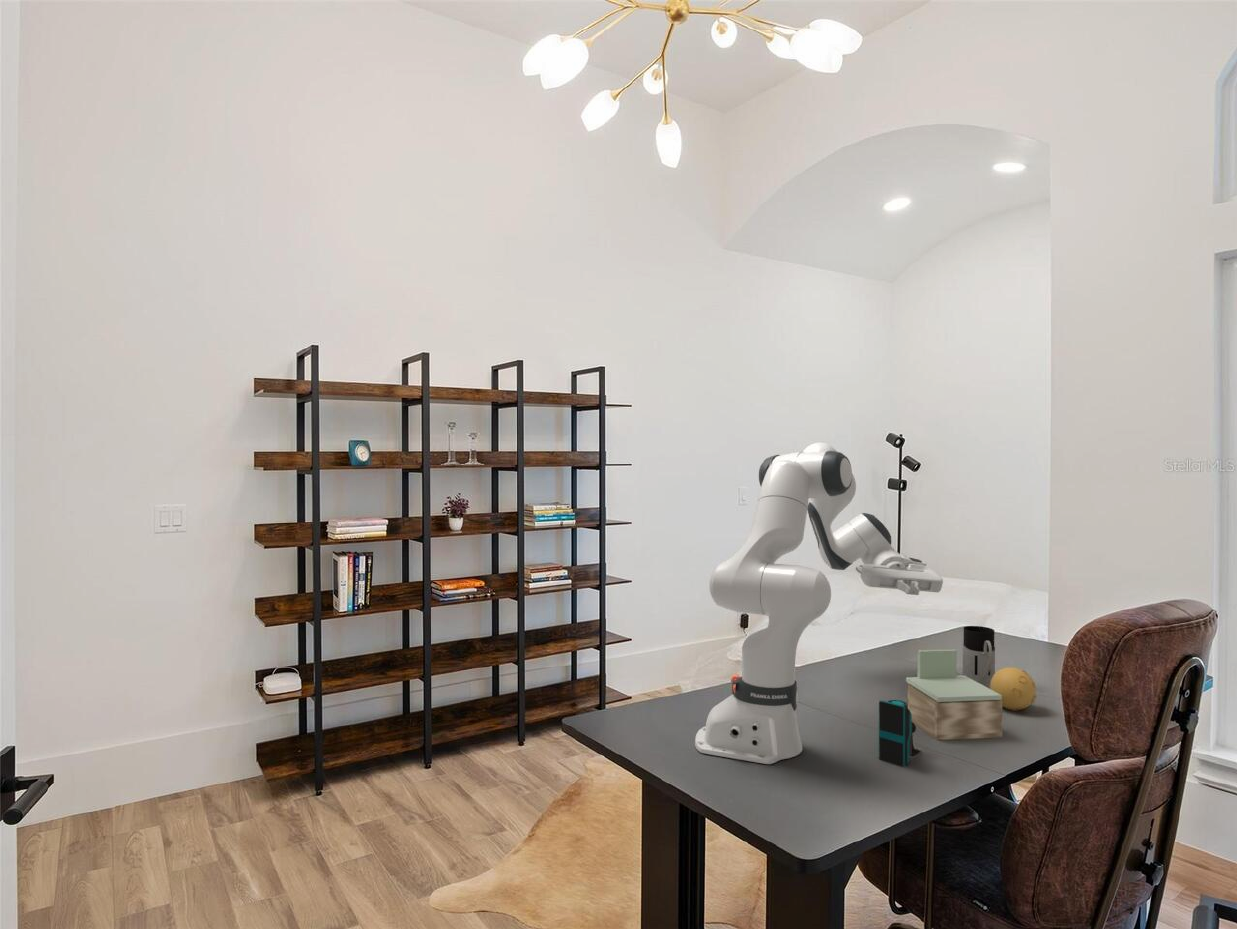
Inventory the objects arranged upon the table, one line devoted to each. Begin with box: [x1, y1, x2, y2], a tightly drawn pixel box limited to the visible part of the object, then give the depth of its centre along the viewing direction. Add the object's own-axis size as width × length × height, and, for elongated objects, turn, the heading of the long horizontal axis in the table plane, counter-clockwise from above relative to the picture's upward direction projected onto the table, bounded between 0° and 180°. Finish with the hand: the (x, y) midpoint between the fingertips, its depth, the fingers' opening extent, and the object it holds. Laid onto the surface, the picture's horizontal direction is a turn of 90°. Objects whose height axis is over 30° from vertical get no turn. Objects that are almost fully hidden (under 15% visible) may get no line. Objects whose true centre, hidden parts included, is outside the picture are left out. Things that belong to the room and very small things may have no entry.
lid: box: [905, 648, 1002, 702], centre depth 167 cm, size 15×14×7 cm
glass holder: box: [962, 625, 996, 689], centre depth 195 cm, size 9×14×15 cm, turn 170°
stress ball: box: [990, 667, 1037, 712], centre depth 179 cm, size 10×10×10 cm
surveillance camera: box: [878, 699, 921, 768], centre depth 151 cm, size 6×12×10 cm
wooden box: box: [907, 683, 1003, 741], centre depth 167 cm, size 15×13×8 cm
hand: (913, 592), depth 182 cm, fingers closed
